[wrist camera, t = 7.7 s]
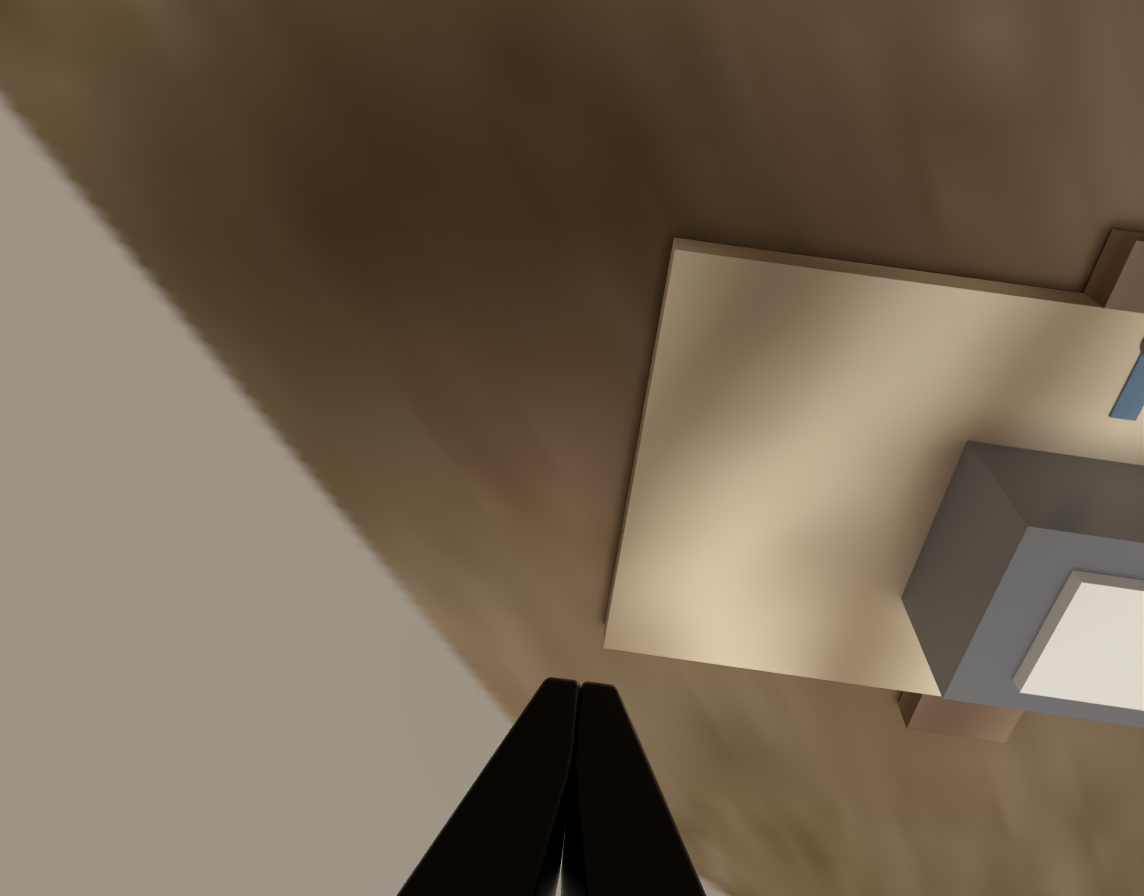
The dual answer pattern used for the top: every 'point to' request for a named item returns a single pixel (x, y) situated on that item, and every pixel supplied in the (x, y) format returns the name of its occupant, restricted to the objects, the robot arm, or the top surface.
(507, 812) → the robot arm
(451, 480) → the top surface
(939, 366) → the board
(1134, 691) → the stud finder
